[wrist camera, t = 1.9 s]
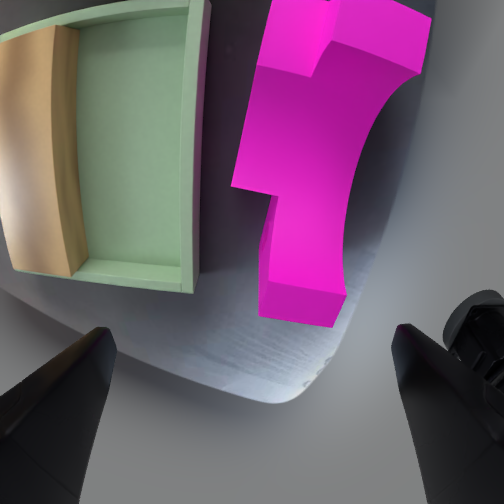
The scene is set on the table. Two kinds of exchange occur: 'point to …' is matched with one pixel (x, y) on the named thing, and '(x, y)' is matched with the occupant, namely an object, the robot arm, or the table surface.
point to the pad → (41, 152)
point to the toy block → (317, 137)
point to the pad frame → (139, 139)
